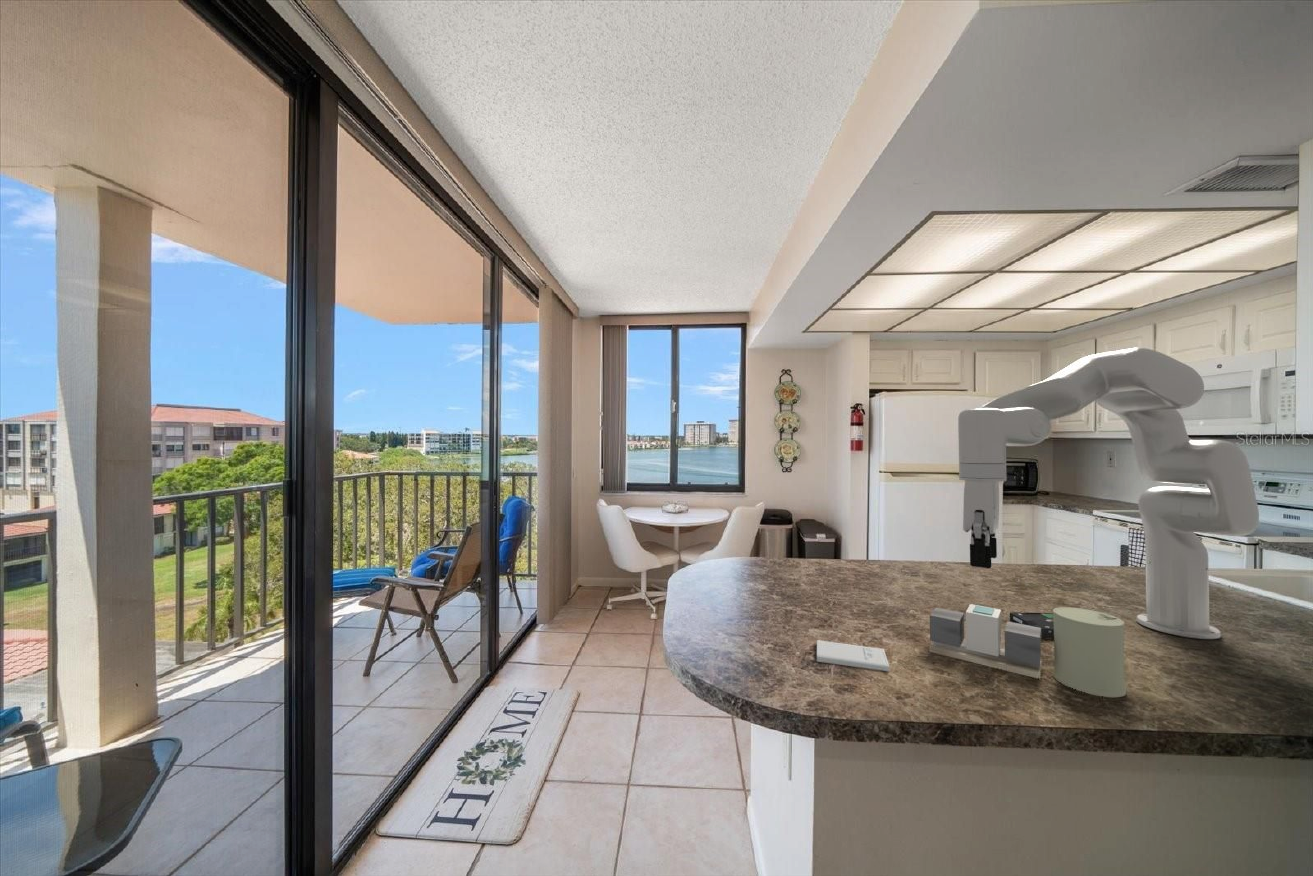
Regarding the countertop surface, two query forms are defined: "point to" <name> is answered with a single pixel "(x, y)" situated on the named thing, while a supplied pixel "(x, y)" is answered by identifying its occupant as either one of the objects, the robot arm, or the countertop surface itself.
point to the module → (983, 629)
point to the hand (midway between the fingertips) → (983, 561)
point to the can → (1089, 651)
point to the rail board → (1016, 656)
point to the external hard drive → (852, 655)
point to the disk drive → (1036, 621)
